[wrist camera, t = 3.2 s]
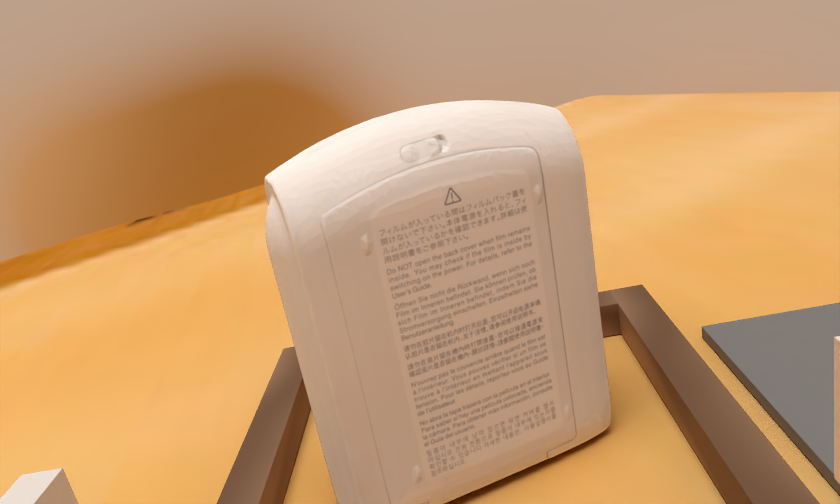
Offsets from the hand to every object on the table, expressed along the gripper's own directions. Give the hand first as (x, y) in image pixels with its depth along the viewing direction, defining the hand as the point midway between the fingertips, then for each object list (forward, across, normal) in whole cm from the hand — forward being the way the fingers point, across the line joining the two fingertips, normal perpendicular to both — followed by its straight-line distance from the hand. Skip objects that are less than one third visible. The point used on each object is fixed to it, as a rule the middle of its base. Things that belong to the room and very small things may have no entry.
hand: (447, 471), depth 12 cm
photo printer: (+11, 0, -8) cm, 13 cm away
